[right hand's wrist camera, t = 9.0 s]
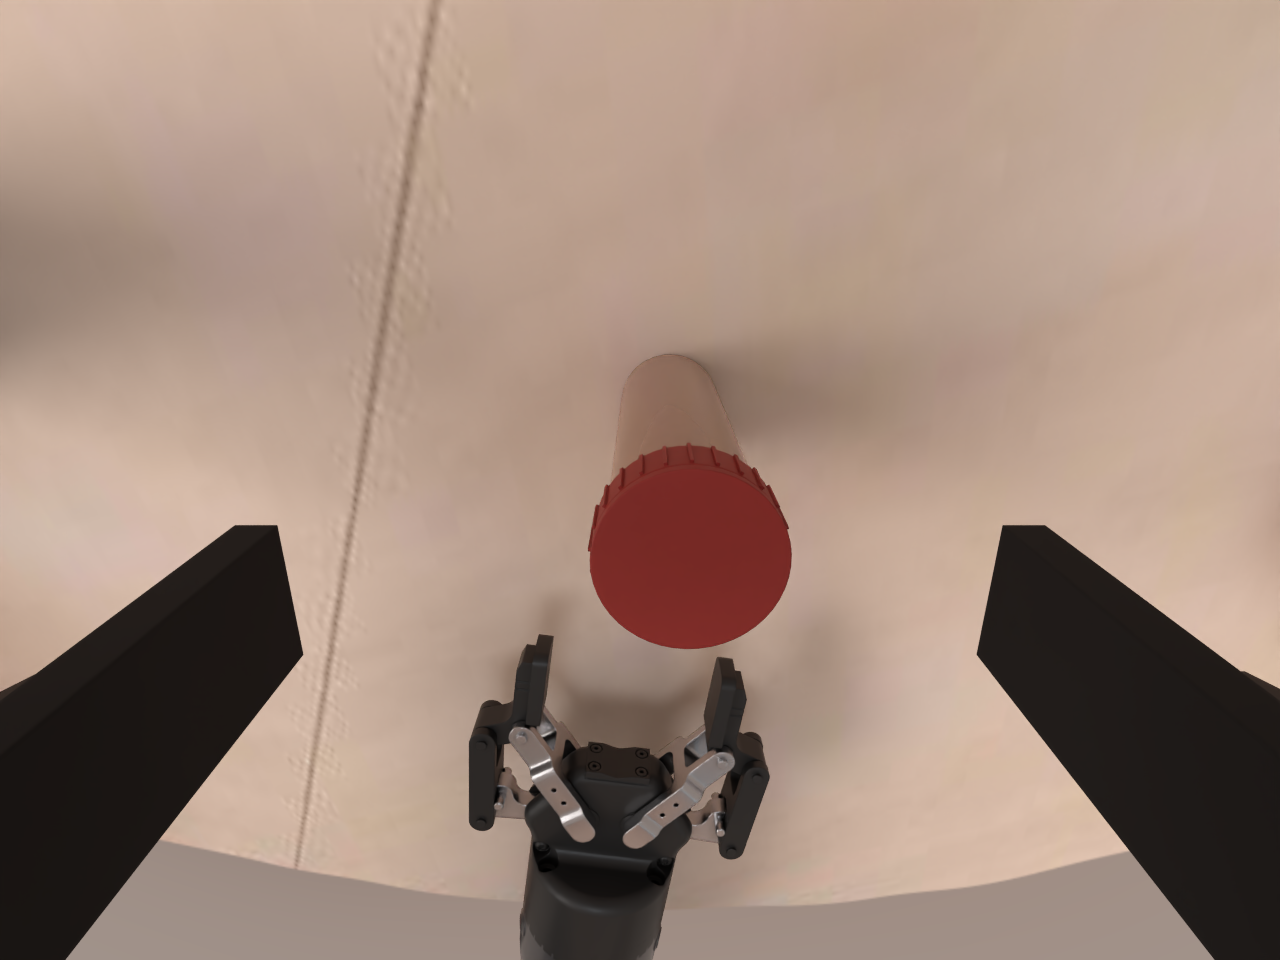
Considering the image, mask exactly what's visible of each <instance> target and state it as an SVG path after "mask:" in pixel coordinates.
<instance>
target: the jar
mask: <svg viewBox="0 0 1280 960" xmlns="http://www.w3.org/2000/svg"><path fill="white" fill-rule="evenodd" d="M687 443H691V445H693V446H704V447H708V448H711V446H715V447H716V449H717V450H720V451H723V452H725V453H728V454H730V455H732V456H733V455H734V454H736V455H738V457H739V460H741V461H742V462H744V463H745V464H747V463H746V460H745V458H744V455H743V453H742V451H741V448H740V446H739V444H738V441H737V439H736V436H735V434H734V432H733V429H732V427H731V424H730V422H729V420H728V417H727V415H726V413H725V410H724V408H723V405H722V403H721V401H720V398H719V396H718V393H717V391H716V389H715V386H714V384H713V382H712V379H711V378H710V376H709V374H708V373H707V372H706V371H705V370H704V369H703V368H702V367H701V366H700V365H699V364H698V363H696V362H695V361H693V360H691V359H689V358H686V357H683V356H679V355H661V356H656V357H653V358H651V359H649V360H646V361H645V362H643V363H642V364H640V365H639V366H638V367H637V368H636V369H635V370H634V371H633V372H632V373H631V375H630V376H629V377H628V379H627V381H626V383H625V386H624V388H623V393H622V399H621V407H620V414H619V422H618V430H617V437H616V445H615V453H614V460H613V468H612V476H611V482H612V481H613V480H614V478H615V477H616V476H617V475H618V474H619V471H620V469H621V468H622V467H623V468H624V469H625V468H626V467H627V466H628V465H630V464H631V463H632V462H634V461H636V460H637V459H639V455H641V454H643V455H644V456H645V455H647V454H649V453H651V452H654V451H657V450H660V449H662V446H666V448H668V447H674V446H687ZM610 484H611V483H610Z"/></svg>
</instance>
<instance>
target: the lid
mask: <svg viewBox="0 0 1280 960" xmlns="http://www.w3.org/2000/svg"><path fill="white" fill-rule="evenodd" d="M787 529H789V527H788V524H787V522H786V520H785V518H784V516H783V514H782V512H781V509H780V506H779V504H778V502H777V500H776V497H775V495H774V493H773V491H772V489H771V487H770V485H767V486H766V485H765V483H764V482H763V480H762V479H761V478H760V476H759V474H758V471H757V469H756V468H755V467H754V468H753V469H751V468H750V467H749V466H748V465H747V464H745V463H744V462H742V461H741V460H739V457H738V455H736V454H734V455H733V456H732V455H730V454H728V453H725V452H723V451H720V450H717V449H716V447H715V446H711V448H708V447H704V446H693V445H691V443H687V446H674V447H668V448H666V446H662V449H660V450H657V451H654V452H651V453H649V454H647V455H645V456H644V455H643V454H641V455H639V459H637V460H636V461H634V462H632V463H631V464H630V465H628V466H627V467H626V468H625V469H624V468H623V467H622V468H621V469H620V471H619V474H618V475H617V476H616V477H615V478H614V480H613V481H612V482H611V484H610V485H609V486H608V485H606V486H605V489H604V495H603V497H602V499H601V502H600V504H599V505H596V507H595V512H594V518H593V524H592V529H591V534H590V540H589V546H588V551H590V573H591V576H592V581H593V584H594V587H595V590H596V592H597V595H598V597H599V599H600V600H601V602H602V604H603V606H604V607H605V608H606V610H607V611H608V612H609V614H610V615H611V616H612V617H613V618H614V619H615V620H616V621H617V622H618V623H619V624H620V625H622V626H623V627H624V628H625V629H627V630H628V631H630V632H631V633H633V634H635V635H636V636H638V637H640V638H642V639H644V640H646V641H649V642H652V643H655V644H658V645H661V646H666V647H671V648H680V649H699V648H706V647H712V646H716V645H719V644H723V643H726V642H728V641H731V640H734V639H736V638H738V637H740V636H741V635H743V634H745V633H747V632H748V631H750V630H751V629H753V628H754V627H756V626H757V625H758V624H759V623H760V622H761V621H763V620H764V619H765V618H766V617H767V615H768V614H769V613H770V612H771V611H772V610H773V608H774V607H775V606H776V604H777V603H778V601H779V600H780V598H781V596H782V594H783V592H784V590H785V587H786V585H787V582H788V579H789V574H790V569H791V557H792V553H791V543H790V539H789V535H788V531H787Z"/></svg>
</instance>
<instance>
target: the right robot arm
mask: <svg viewBox="0 0 1280 960" xmlns="http://www.w3.org/2000/svg"><path fill="white" fill-rule="evenodd" d="M302 656H303V650H302V645H301V641H300V636H299V631H298V626H297V621H296V616H295V611H294V606H293V601H292V596H291V591H290V586H289V581H288V576H287V571H286V566H285V561H284V556H283V551H282V546H281V541H280V536H279V531H278V526H277V525H235V526H233V527H232V528H231V529H229V530H228V531H227V532H225V533H224V534H223V535H221V536H220V537H219V538H217V539H216V540H215V541H213V542H212V543H211V544H209V545H208V546H207V547H205V548H204V549H203V550H201V551H200V552H199V553H197V554H196V555H195V556H193V557H192V558H191V559H189V560H188V561H187V562H185V563H184V564H183V565H181V566H180V567H179V568H177V569H176V570H175V571H173V572H172V573H170V574H169V575H168V576H166V577H165V578H164V579H162V580H161V581H160V582H158V583H157V584H156V585H154V586H153V587H152V588H150V589H149V590H148V591H146V592H145V593H144V594H142V595H141V596H140V597H138V598H137V599H136V600H134V601H133V602H132V603H130V604H129V605H128V606H126V607H125V608H124V609H122V610H121V611H120V612H118V613H117V614H116V615H114V616H113V617H112V618H110V619H109V620H108V621H106V622H105V623H104V624H102V625H101V626H100V627H98V628H97V629H95V630H94V631H93V632H91V633H90V634H89V635H87V636H86V637H85V638H83V639H82V640H81V641H79V642H78V643H77V644H75V645H74V646H73V647H71V648H70V649H69V650H67V651H66V652H65V653H63V654H62V655H61V656H59V657H58V658H57V659H55V660H54V661H53V662H51V663H50V664H49V665H47V666H46V667H45V668H43V669H42V670H41V671H39V672H38V673H37V674H35V675H33V676H31V677H29V678H27V679H25V680H23V681H21V682H19V683H17V684H15V685H13V686H11V687H9V688H7V689H5V690H3V691H1V692H0V960H66V958H67V957H68V956H69V954H70V953H71V952H72V951H73V949H74V948H75V947H76V945H77V944H78V943H79V942H80V940H81V939H82V938H83V937H84V935H85V934H86V933H87V931H88V930H89V929H90V928H91V926H92V925H93V924H94V922H95V921H96V920H97V918H98V917H99V916H100V915H101V913H102V912H103V911H104V910H105V908H106V907H107V906H108V904H109V903H110V902H111V901H112V899H113V898H114V897H115V895H116V894H117V893H118V892H119V890H120V889H121V888H122V886H123V885H124V884H125V883H126V881H127V880H128V879H129V878H130V876H131V875H132V874H133V872H134V871H135V870H136V868H137V867H138V866H139V865H140V863H141V862H142V861H143V860H144V858H145V857H146V856H147V854H148V853H149V852H150V851H151V849H152V848H153V847H154V845H155V844H156V843H157V842H158V840H159V839H160V838H161V836H162V835H163V834H164V833H165V831H166V830H167V829H168V828H169V826H170V825H171V824H172V822H173V821H174V820H175V819H176V817H177V816H178V815H179V813H180V812H181V811H182V810H183V808H184V807H185V806H186V804H187V803H188V802H189V801H190V799H191V798H192V797H193V795H194V794H195V793H196V792H197V790H198V789H199V788H200V786H201V785H202V784H203V783H204V781H205V780H206V779H207V778H208V776H209V775H210V774H211V772H212V771H213V770H214V769H215V767H216V766H217V765H218V763H219V762H220V761H221V760H222V758H223V757H224V756H225V754H226V753H227V752H228V751H229V749H230V748H231V747H232V745H233V744H234V743H235V742H236V740H237V739H238V738H239V736H240V735H241V734H242V733H243V731H244V730H245V729H246V727H247V726H248V725H249V724H250V722H251V721H252V720H253V719H254V717H255V716H256V715H257V713H258V712H259V711H260V710H261V708H262V707H263V706H264V704H265V703H266V702H267V701H268V699H269V698H270V697H271V695H272V694H273V693H274V692H275V690H276V689H277V688H278V686H279V685H280V684H281V683H282V681H283V680H284V679H285V677H286V676H287V675H288V674H289V672H290V671H291V670H292V669H293V667H294V666H295V665H296V663H297V662H298V661H299V660H300V658H301V657H302ZM977 656H978V657H979V658H980V660H981V661H982V662H983V663H984V665H985V666H986V667H987V669H988V670H989V671H990V672H991V674H992V675H993V676H994V677H995V679H996V680H997V681H998V683H999V684H1000V685H1001V686H1002V688H1003V689H1004V690H1005V692H1006V693H1007V694H1008V695H1009V697H1010V698H1011V699H1012V701H1013V702H1014V703H1015V704H1016V706H1017V707H1018V708H1019V710H1020V711H1021V712H1022V713H1023V715H1024V716H1025V717H1026V719H1027V720H1028V721H1029V722H1030V724H1031V725H1032V726H1033V727H1034V729H1035V730H1036V731H1037V733H1038V734H1039V735H1040V736H1041V738H1042V739H1043V740H1044V742H1045V743H1046V744H1047V745H1048V747H1049V748H1050V749H1051V751H1052V752H1053V753H1054V754H1055V756H1056V757H1057V758H1058V760H1059V761H1060V762H1061V763H1062V765H1063V766H1064V767H1065V769H1066V770H1067V771H1068V772H1069V774H1070V775H1071V776H1072V778H1073V779H1074V780H1075V781H1076V783H1077V784H1078V785H1079V786H1080V788H1081V789H1082V790H1083V792H1084V793H1085V794H1086V795H1087V797H1088V798H1089V799H1090V801H1091V802H1092V803H1093V804H1094V806H1095V807H1096V808H1097V810H1098V811H1099V812H1100V813H1101V815H1102V816H1103V817H1104V819H1105V820H1106V821H1107V822H1108V824H1109V825H1110V826H1111V828H1112V829H1113V830H1114V831H1115V833H1116V834H1117V835H1118V836H1119V838H1120V839H1121V840H1122V842H1123V843H1124V844H1125V845H1126V847H1127V848H1128V849H1129V851H1130V852H1131V853H1132V854H1133V856H1134V857H1135V858H1136V860H1137V861H1138V862H1139V863H1140V865H1141V866H1142V867H1143V868H1144V870H1145V871H1146V872H1147V874H1148V875H1149V876H1150V878H1151V879H1152V880H1153V881H1154V883H1155V884H1156V885H1157V886H1158V888H1159V889H1160V890H1161V892H1162V893H1163V894H1164V895H1165V897H1166V898H1167V899H1168V901H1169V902H1170V903H1171V904H1172V906H1173V907H1174V908H1175V910H1176V911H1177V912H1178V913H1179V915H1180V916H1181V917H1182V919H1183V920H1184V921H1185V922H1186V924H1187V925H1188V926H1189V927H1190V929H1191V930H1192V931H1193V933H1194V934H1195V935H1196V937H1197V938H1198V939H1199V940H1200V942H1201V943H1202V944H1203V945H1204V947H1205V948H1206V949H1207V950H1208V952H1209V953H1210V954H1211V956H1212V957H1213V958H1214V960H1280V689H1279V688H1277V687H1275V686H1273V685H1271V684H1269V683H1267V682H1265V681H1263V680H1261V679H1259V678H1257V677H1255V676H1253V675H1251V674H1249V673H1247V672H1245V671H1239V670H1238V669H1237V668H1235V667H1234V666H1233V665H1231V664H1230V663H1229V662H1227V661H1226V660H1225V659H1223V658H1222V657H1221V656H1219V655H1218V654H1217V653H1215V652H1214V651H1213V650H1211V649H1210V648H1209V647H1207V646H1206V645H1205V644H1203V643H1202V642H1201V641H1199V640H1198V639H1197V638H1195V637H1194V636H1193V635H1191V634H1190V633H1189V632H1187V631H1186V630H1185V629H1183V628H1182V627H1180V626H1179V625H1178V624H1176V623H1175V622H1174V621H1172V620H1171V619H1170V618H1168V617H1167V616H1166V615H1164V614H1163V613H1162V612H1160V611H1159V610H1158V609H1156V608H1155V607H1154V606H1152V605H1151V604H1150V603H1148V602H1147V601H1146V600H1144V599H1143V598H1142V597H1140V596H1139V595H1138V594H1136V593H1135V592H1134V591H1132V590H1131V589H1130V588H1128V587H1127V586H1126V585H1124V584H1123V583H1122V582H1120V581H1119V580H1118V579H1116V578H1115V577H1114V576H1112V575H1111V574H1110V573H1108V572H1107V571H1105V570H1104V569H1103V568H1101V567H1100V566H1099V565H1097V564H1096V563H1095V562H1093V561H1092V560H1091V559H1089V558H1088V557H1087V556H1085V555H1084V554H1083V553H1081V552H1080V551H1079V550H1077V549H1076V548H1075V547H1073V546H1072V545H1071V544H1069V543H1068V542H1067V541H1065V540H1064V539H1063V538H1061V537H1060V536H1059V535H1057V534H1056V533H1055V532H1053V531H1052V530H1051V529H1049V528H1048V527H1047V526H1045V525H1003V526H1002V531H1001V536H1000V541H999V546H998V551H997V556H996V561H995V566H994V571H993V576H992V581H991V586H990V591H989V596H988V601H987V606H986V611H985V616H984V621H983V626H982V631H981V636H980V641H979V645H978V650H977Z"/></svg>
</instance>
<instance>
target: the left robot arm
mask: <svg viewBox="0 0 1280 960" xmlns="http://www.w3.org/2000/svg"><path fill="white" fill-rule="evenodd" d="M553 638H554V636H548V635H541V634H539V636H538V640H537V644H536V645H529V644H527V645H526V647H525V648H524V650H523V651H522V654H521V657H520V661H519V664H518V668H517V672H516V682H515V692H514V700H513V701H512V702H510V703H508V704H501V703H500V702H498V701H495V700H489V701H486V702H484V703H483V704H482V706H481V708H480V711H479V714H478V717H477V720H476V723H475V726H474V729H473V732H472V735H471V738H470V741H469V823H470V825H471V826H472V827H473V828H474V829H476V830H479V831H486V830H489V829H490V828H491V827H492V826H493V824H494V820H495V817H503V818H517V819H525V821H526V824H527V825H528V827H529V829H530V831H531V834H532V839H531V847H530V855H529V863H528V871H527V879H526V887H525V895H524V903H523V908H522V910H521V914H520V953H521V960H652V958H653V955H654V951H655V949H656V948H657V945H658V941H659V937H660V933H661V920H662V916H663V911H664V907H665V903H666V898H667V894H668V889H669V885H670V881H671V876H672V872H673V867H674V863H675V858H676V855H677V853H678V851H679V850H680V849H681V848H682V847H683V846H684V845H685V844H686V843H687V842H688V841H689V839H696V840H702V841H708V842H714V843H718V844H719V852H720V854H721V856H722V857H724V858H726V859H736V858H738V857H740V856H741V855H742V854H743V851H744V848H745V846H746V843H747V840H748V837H749V834H750V832H751V829H752V826H753V823H754V820H755V818H756V815H757V812H758V809H759V806H760V804H761V801H762V798H763V795H764V793H765V790H766V787H767V784H768V781H769V778H770V776H769V771H768V767H767V765H766V762H765V758H764V753H763V745H762V740H761V737H760V736H759V735H758V734H756V733H754V732H747V733H744V734H742V733H740V732H739V728H740V724H741V720H742V716H743V712H744V708H745V704H746V700H747V699H746V694H745V690H744V685H743V680H742V676H741V671H735V668H734V663H733V659H730V658H722V657H717V659H716V663H715V667H714V672H713V676H712V680H711V685H710V689H709V694H708V698H707V703H706V707H705V712H704V721H705V724H704V725H703V726H701V727H700V728H699V729H697V730H696V731H695V732H693V733H692V734H691V735H689V736H688V737H687V738H683V737H677V738H676V739H675V740H673V741H672V742H671V743H669V744H668V745H667V746H666V747H664V748H663V749H662V750H660V751H659V752H658V753H656V754H655V755H654V756H653V755H651V754H650V749H644V748H636V747H633V748H621V749H618V748H615V747H612V746H609V745H607V744H604V743H596V742H589V744H588V746H587V747H582V748H581V747H580V745H579V744H578V743H577V741H576V740H575V739H574V737H573V736H572V734H571V733H570V732H569V730H568V729H567V727H566V726H565V725H564V723H563V722H556V721H555V719H554V718H553V716H552V715H551V714H550V712H549V711H548V710H547V708H546V707H545V700H546V695H547V687H548V679H549V671H550V663H551V655H552V647H553ZM508 743H511V744H512V745H513V747H514V748H515V749H516V751H517V752H518V753H519V754H520V756H521V757H522V758H523V760H524V761H525V762H526V764H527V765H528V767H529V769H530V775H531V778H532V781H533V783H534V784H533V786H532V787H531V788H530V790H529V791H524V790H522V789H521V788H519V787H518V785H517V782H516V778H515V777H514V776H513V775H512V774H511V773H512V770H511V768H509V767H505V768H503V765H504V744H508ZM673 773H674V780H673V778H672V777H671V775H672V774H673ZM726 773H727V775H726V778H725V781H724V784H723V787H722V790H721V793H720V794H719V793H713V794H712V795H711V798H712V799H711V800H709V801H708V802H707V804H706V806H705V807H704V808H703V809H701V810H698V811H691V809H690V808H691V807H693V806H694V805H695V804H697V803H698V802H699V801H700V799H701V798H702V796H703V793H704V790H705V789H706V788H707V787H708V786H709V785H711V784H712V783H714V782H715V781H716V780H718V779H719V778H720V777H722V776H723V775H725V774H726Z"/></svg>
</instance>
